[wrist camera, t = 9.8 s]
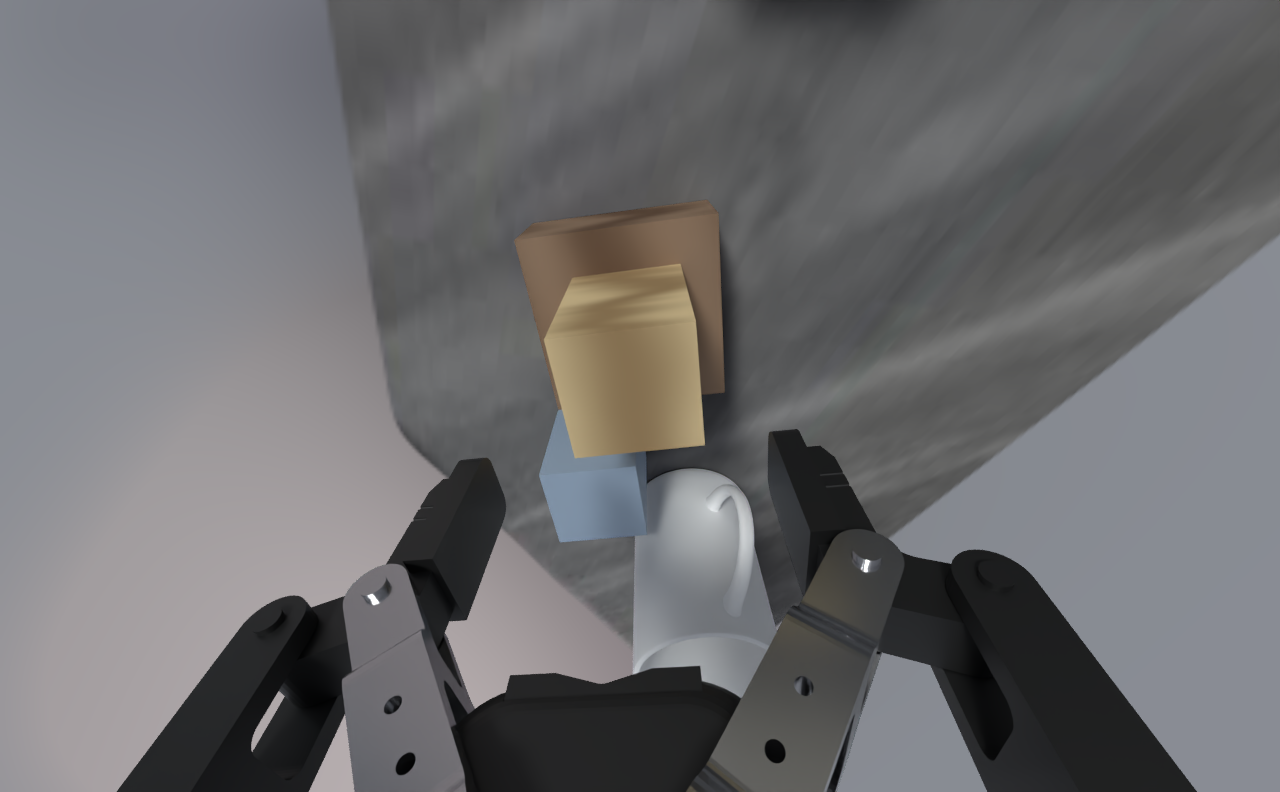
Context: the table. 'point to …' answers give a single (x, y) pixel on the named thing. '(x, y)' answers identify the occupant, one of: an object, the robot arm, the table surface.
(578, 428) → the oak block
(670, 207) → the walnut slab
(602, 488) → the slate block
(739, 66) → the table surface
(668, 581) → the mug
